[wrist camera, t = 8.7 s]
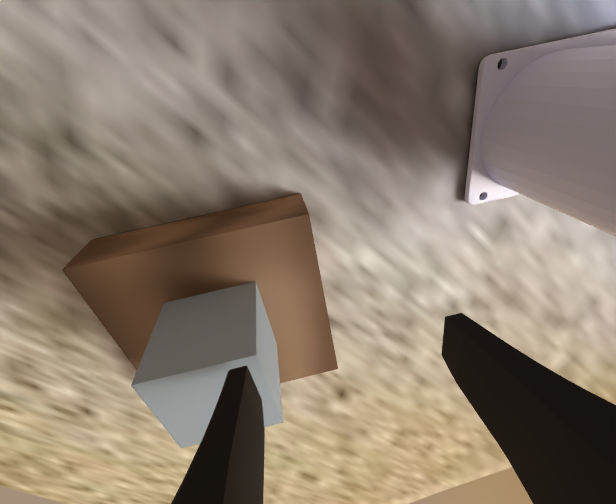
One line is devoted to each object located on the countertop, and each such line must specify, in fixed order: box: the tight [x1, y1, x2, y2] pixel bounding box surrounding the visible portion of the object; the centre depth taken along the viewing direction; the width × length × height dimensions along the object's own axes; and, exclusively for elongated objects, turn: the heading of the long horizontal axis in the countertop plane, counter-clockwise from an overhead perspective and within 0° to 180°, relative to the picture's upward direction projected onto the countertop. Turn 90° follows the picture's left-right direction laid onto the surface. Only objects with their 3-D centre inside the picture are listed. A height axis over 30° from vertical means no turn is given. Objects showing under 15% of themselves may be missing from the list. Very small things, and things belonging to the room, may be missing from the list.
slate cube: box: [131, 282, 283, 448], centre depth 15 cm, size 5×5×5 cm
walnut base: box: [62, 194, 338, 383], centre depth 19 cm, size 12×12×3 cm
